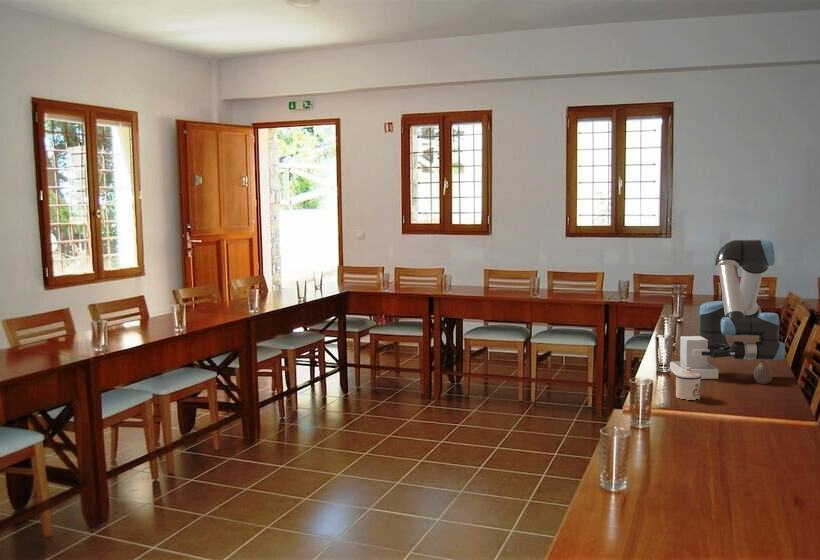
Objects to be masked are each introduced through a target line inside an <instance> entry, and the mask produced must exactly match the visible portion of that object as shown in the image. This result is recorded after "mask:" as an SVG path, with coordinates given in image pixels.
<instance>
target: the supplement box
mask: <svg viewBox="0 0 820 560" xmlns="http://www.w3.org/2000/svg"><path fill="white" fill-rule="evenodd" d="M679 338H680V342H679V343H680V344H679V345H680V346H679V347H680V348H679V350H680V353H679V360H680V361H679V362H680V367H681V368H682V369H686V367H690V368H691V369H707V363H708V357H704V356H693V350H708V340H707V339H705V338H703V337H701V336H698V335H692V336H690V335H689V336H688V335H687V336H686V335H685V336H684V335H683V336H680V337H679Z"/></svg>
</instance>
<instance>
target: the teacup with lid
mask: <svg viewBox="0 0 820 560" xmlns="http://www.w3.org/2000/svg"><path fill="white" fill-rule="evenodd" d="M701 380H702V379H701V375H700V374H699V373H697V372H695V371H693V370H691V368H690V367H686V370H683V371H681V372H677V373H676V375H675V398H676V399H678V398H680V399H679V400H681V399H686V400H685V401H688V400H694V401H697V400H696V399H698V400H700V399H701Z"/></svg>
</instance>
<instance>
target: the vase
mask: <svg viewBox="0 0 820 560" xmlns="http://www.w3.org/2000/svg"><path fill="white" fill-rule="evenodd" d="M753 378H754V381H755V382H756V383H757V384H759V385H767V384H770V383H771V381H772V380H773V369H772V368H771V366H770V365H769V364H768V362H767V361H766V360H760V361H759V363H758V364H756V366H755V367H754V369H753Z"/></svg>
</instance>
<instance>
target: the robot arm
mask: <svg viewBox="0 0 820 560" xmlns="http://www.w3.org/2000/svg"><path fill="white" fill-rule="evenodd" d="M775 256H776V255H775V249H774V245H773V241H771V240H770V239H761V238H760V239H733V240H730V241H728V242H726V243H725V244H724V245H723V246H721V248H720V249H719V250H718V252H717V253H716V257H715V264H714V265H715V270H716V271H717V272H718V274H719V275H718V276H719V281H720V291H721V297H722V300H716V301H715V300H714V301H713V300H712V301H708V302H707V301H706V302H704V303H701V304H700V306H699V312H698V313H699V327H698V328H699V330H698V331H699V334H698V335H697V336H701V337H703V338H705V339H707V340H708V350H693V356H704V357H707V358H709V357H711V358H713V359H717V358H718V359H719V358H728V357H732V358H733V359H734V360H744V359H745V360H749V361H750V362H751V361H753V360H760V361H766V360H769V361H775V360H776V361H777V360H779V361H780V360H784V358H785V357H786V349H785V348H786V346H785V343H784V342H782V341H780V339H779V338H780V337H779V335H780V317H779V314H778V313H776V312H762V310H761V306H760V305H759V304H758V302H757V300H758V296H759V292H760V288H761V283H762V279H763V275H764V273H766V272H767V271H768V269H769V267H773V266H774V265H775V262H776V261H775V260H776V257H775ZM740 267H741V269H742V271H741V276H739V268H740ZM739 277H740V279H739ZM727 336H732V337H734V336H748V337H749V336H751V337H753V336H754V337H755V336H756V337H757V336H758V341H756V340H755V341H754V340H751V341H750V340H747V341H746V340H745V341H743V340H742V341H739V340H735V341H732V344H731V345H729V343H728V340H727Z"/></svg>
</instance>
